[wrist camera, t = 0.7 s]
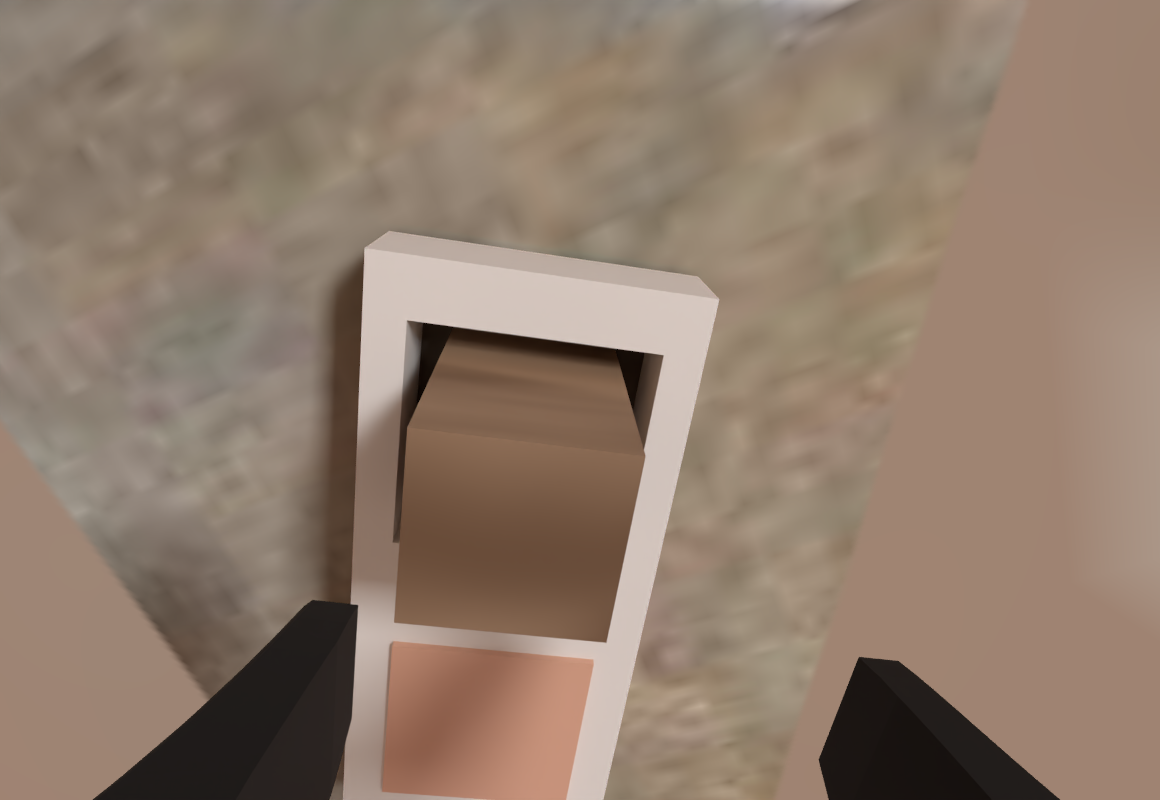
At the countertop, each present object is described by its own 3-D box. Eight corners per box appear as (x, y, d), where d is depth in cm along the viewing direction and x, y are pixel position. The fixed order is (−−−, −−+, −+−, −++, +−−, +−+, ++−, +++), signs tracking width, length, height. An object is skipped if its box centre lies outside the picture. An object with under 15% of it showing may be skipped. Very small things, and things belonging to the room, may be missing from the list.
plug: (589, 489, 21) (606, 643, 15) (440, 472, 20) (393, 622, 14) (615, 349, 19) (645, 456, 13) (453, 327, 19) (407, 427, 13)
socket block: (589, 771, 25) (594, 845, 22) (362, 754, 24) (340, 828, 22) (697, 276, 18) (721, 301, 16) (389, 231, 17) (362, 249, 15)
